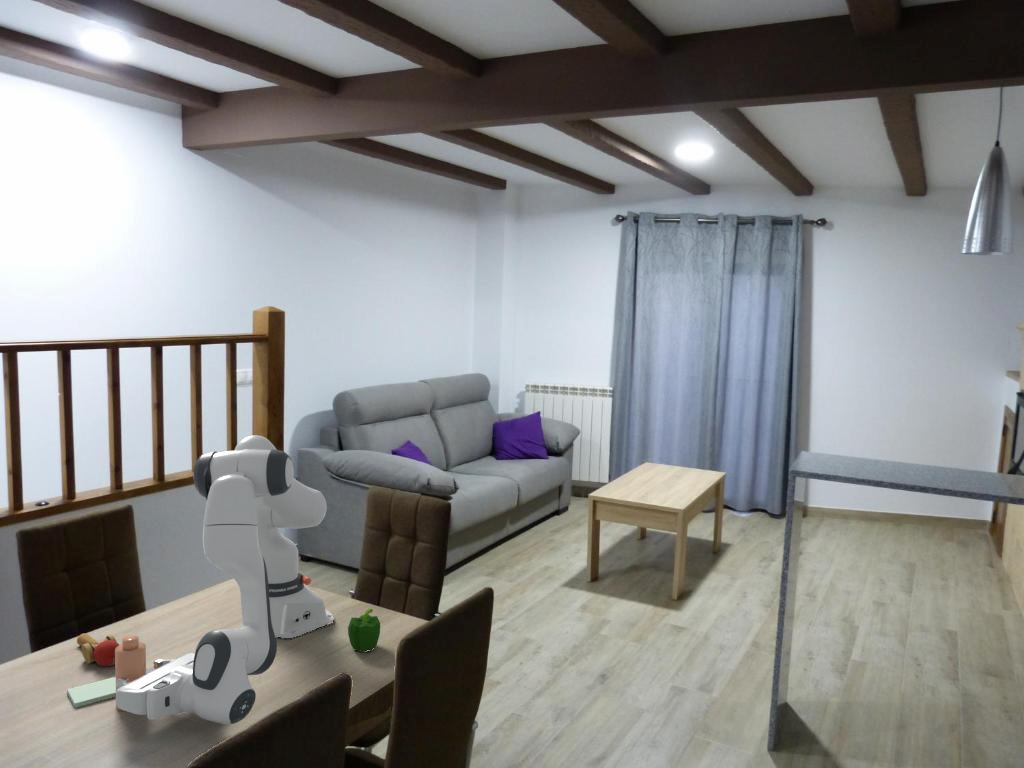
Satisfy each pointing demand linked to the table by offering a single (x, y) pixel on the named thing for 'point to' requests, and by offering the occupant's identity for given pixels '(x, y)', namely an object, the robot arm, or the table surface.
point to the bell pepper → (364, 631)
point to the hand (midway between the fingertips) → (138, 672)
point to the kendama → (98, 649)
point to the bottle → (130, 660)
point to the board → (95, 691)
